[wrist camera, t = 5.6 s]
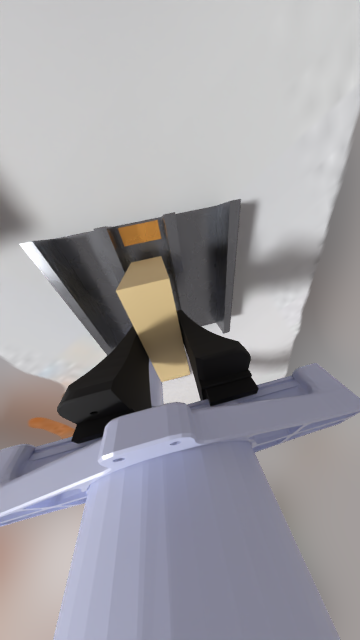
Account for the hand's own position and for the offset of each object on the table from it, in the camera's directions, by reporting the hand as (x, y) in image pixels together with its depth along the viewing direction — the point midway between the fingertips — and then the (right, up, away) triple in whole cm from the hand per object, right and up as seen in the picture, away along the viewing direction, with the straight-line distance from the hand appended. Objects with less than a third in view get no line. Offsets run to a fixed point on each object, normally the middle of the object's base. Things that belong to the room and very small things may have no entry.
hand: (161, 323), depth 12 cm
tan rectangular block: (-1, +2, +4) cm, 4 cm away
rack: (-2, +5, +7) cm, 8 cm away
